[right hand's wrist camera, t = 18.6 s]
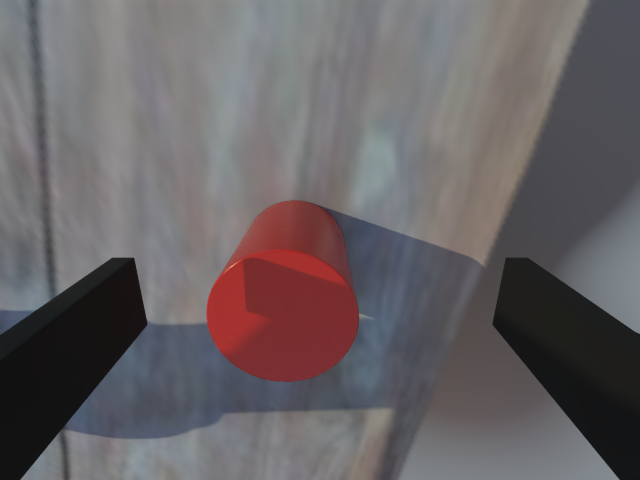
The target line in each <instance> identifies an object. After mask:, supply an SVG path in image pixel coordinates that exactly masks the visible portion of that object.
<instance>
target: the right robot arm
mask: <svg viewBox="0 0 640 480" xmlns="http://www.w3.org/2000/svg"><path fill="white" fill-rule="evenodd" d="M147 325H148V324H147V319H146V314H145V310H144V305H143V300H142V295H141V290H140V285H139V280H138V275H137V270H136V265H135V260H134V258H111V259H110V260H108V261H107V262H105V263H104V264H103V265H101V266H100V267H98V268H97V269H95V270H94V271H92V272H91V273H90V274H88V275H87V276H85V277H84V278H82V279H81V280H79V281H78V282H77V283H75V284H74V285H72V286H71V287H69V288H68V289H66V290H65V291H64V292H62V293H61V294H59V295H58V296H56V297H55V298H53V299H52V300H51V301H49V302H48V303H46V304H45V305H43V306H42V307H40V308H39V309H38V310H36V311H35V312H33V313H32V314H30V315H29V316H27V317H26V318H24V319H23V320H22V321H20V322H19V323H17V324H16V325H14V326H13V327H11V328H10V329H9V330H7V331H6V332H4V333H3V334H1V335H0V480H20V479H21V478H22V477H23V476H24V474H25V473H26V472H27V471H28V470H29V468H30V467H31V466H32V465H33V464H34V462H35V461H36V460H37V459H38V457H39V456H40V455H41V454H42V453H43V451H44V450H45V449H46V448H47V446H48V445H49V444H50V443H51V442H52V440H53V439H54V438H55V437H56V435H57V434H58V433H59V432H60V431H61V429H62V428H63V427H64V426H65V425H66V423H67V422H68V421H69V420H70V418H71V417H72V416H73V415H74V414H75V412H76V411H77V410H78V409H79V407H80V406H81V405H82V404H83V403H84V401H85V400H86V399H87V398H88V396H89V395H90V394H91V393H92V392H93V390H94V389H95V388H96V387H97V385H98V384H99V383H100V382H101V381H102V379H103V378H104V377H105V376H106V375H107V373H108V372H109V371H110V370H111V368H112V367H113V366H114V365H115V364H116V362H117V361H118V360H119V359H120V357H121V356H122V355H123V354H124V353H125V351H126V350H127V349H128V348H129V346H130V345H131V344H132V343H133V342H134V340H135V339H136V338H137V337H138V336H139V334H140V333H141V332H142V331H143V329H144V328H145V327H146V326H147ZM493 326H494V327H495V328H496V329H497V331H498V332H499V333H500V334H501V335H502V337H503V338H504V339H505V340H506V342H507V343H508V344H509V345H510V346H511V348H512V349H513V350H514V351H515V353H516V354H517V355H518V356H519V357H520V359H521V360H522V361H523V362H524V364H525V365H526V366H527V367H528V368H529V370H530V371H531V372H532V373H533V375H534V376H535V377H536V378H537V379H538V381H539V382H540V383H541V384H542V385H543V387H544V388H545V389H546V390H547V392H548V393H549V394H550V395H551V396H552V398H553V399H554V400H555V401H556V403H557V404H558V405H559V406H560V407H561V409H562V410H563V411H564V412H565V414H566V415H567V416H568V417H569V418H570V420H571V421H572V422H573V423H574V424H575V426H576V427H577V428H578V429H579V431H580V432H581V433H582V434H583V435H584V437H585V438H586V439H587V440H588V442H589V443H590V444H591V445H592V446H593V448H594V449H595V450H596V451H597V453H598V454H599V455H600V456H601V457H602V459H603V460H604V461H605V462H606V464H607V465H608V466H609V467H610V468H611V470H612V471H613V472H614V473H615V474H616V476H617V477H618V478H619V479H620V480H640V334H638V333H636V332H634V331H633V330H631V329H630V328H629V327H627V326H626V325H624V324H623V323H621V322H620V321H618V320H617V319H615V318H614V317H613V316H611V315H610V314H608V313H607V312H605V311H604V310H602V309H601V308H600V307H598V306H597V305H595V304H594V303H592V302H591V301H589V300H588V299H587V298H585V297H583V296H582V295H581V294H579V293H578V292H576V291H575V290H574V289H572V288H571V287H569V286H568V285H566V284H565V283H563V282H562V281H560V280H559V279H558V278H556V277H555V276H553V275H552V274H550V273H549V272H547V271H546V270H545V269H543V268H542V267H540V266H539V265H537V264H536V263H534V262H533V261H532V260H530V259H529V258H506V260H505V265H504V270H503V275H502V280H501V285H500V290H499V295H498V300H497V305H496V310H495V315H494V320H493Z"/></svg>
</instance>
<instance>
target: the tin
mask: <svg viewBox="0 0 640 480" xmlns="http://www.w3.org/2000/svg"><path fill="white" fill-rule="evenodd" d="M358 323H359V312H358V305H357V300H356V295H355V290H354V285H353V280H352V276H351V271H350V266H349V261H348V256H347V251H346V246H345V242H344V237H343V234H342V231H341V229H340V227H339V225H338V223H337V222H336V221H335V219H334V218H333V217H332V216H331V215H330V214H329V213H328V212H326V211H325V210H324V209H322V208H321V207H319V206H317V205H314V204H312V203H308V202H304V201H285V202H281V203H278V204H275V205H273V206H271V207H269V208H267V209H266V210H264V211H263V212H262V213H261V214H260V215H259V216H258V217H257V218H256V219H255V221H254V222H253V224H252V225H251V227H250V228H249V230H248V231H247V233H246V235H245V236H244V238H243V239H242V241H241V242H240V244H239V246H238V247H237V249H236V250H235V252H234V254H233V255H232V257H231V258H230V260H229V261H228V263H227V265H226V266H225V268H224V269H223V271H222V272H221V274H220V276H219V277H218V279H217V280H216V282H215V284H214V286H213V287H212V290H211V292H210V295H209V298H208V303H207V324H208V328H209V331H210V334H211V337H212V339H213V341H214V343H215V344H216V346H217V348H218V349H219V350H220V352H221V353H222V354H223V355H224V356H225V357H226V358H227V359H228V360H229V361H230V362H231V363H232V364H234V365H235V366H236V367H238V368H239V369H241V370H243V371H244V372H246V373H249V374H251V375H253V376H256V377H259V378H262V379H266V380H271V381H281V382H290V381H299V380H304V379H308V378H311V377H314V376H317V375H319V374H321V373H323V372H325V371H327V370H328V369H330V368H332V367H333V366H334V365H335V364H337V363H338V362H339V361H340V360H341V359H342V358H343V357H344V356H345V354H346V353H347V352H348V350H349V349H350V347H351V345H352V343H353V342H354V339H355V336H356V334H357V329H358Z"/></svg>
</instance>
